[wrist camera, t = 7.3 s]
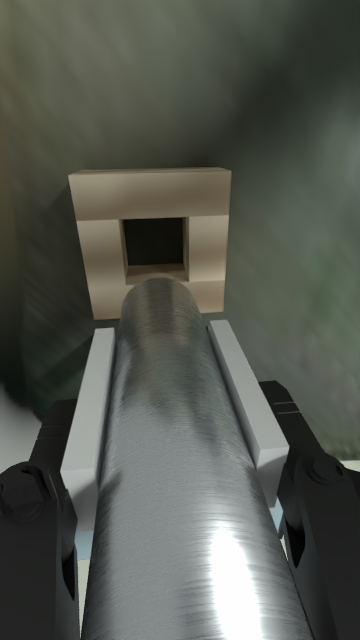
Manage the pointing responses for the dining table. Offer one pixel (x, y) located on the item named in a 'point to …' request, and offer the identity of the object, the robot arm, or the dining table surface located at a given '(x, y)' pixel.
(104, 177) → the socket block
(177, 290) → the peg
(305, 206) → the dining table surface
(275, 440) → the robot arm
